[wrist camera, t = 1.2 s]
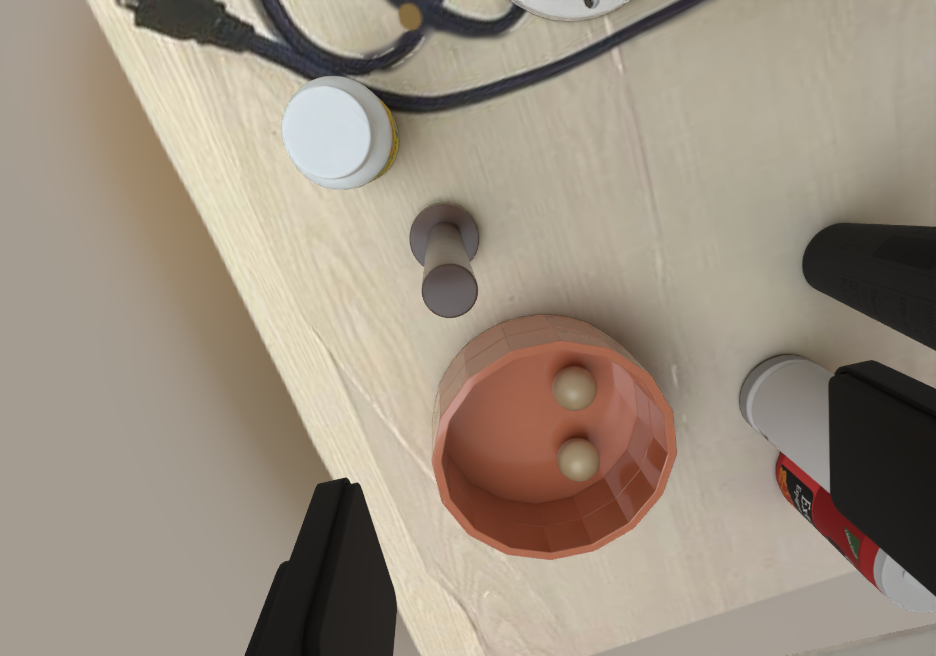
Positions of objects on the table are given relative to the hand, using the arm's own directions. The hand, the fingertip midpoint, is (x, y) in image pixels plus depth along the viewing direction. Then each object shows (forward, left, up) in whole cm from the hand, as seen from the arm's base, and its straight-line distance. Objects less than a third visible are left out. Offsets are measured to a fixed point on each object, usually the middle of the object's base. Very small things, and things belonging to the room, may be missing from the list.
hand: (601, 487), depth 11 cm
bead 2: (+15, +4, -25) cm, 29 cm away
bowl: (+12, +2, -27) cm, 29 cm away
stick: (-2, -2, -27) cm, 27 cm away
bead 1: (+10, +4, -25) cm, 27 cm away
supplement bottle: (-9, -6, -27) cm, 29 cm away
